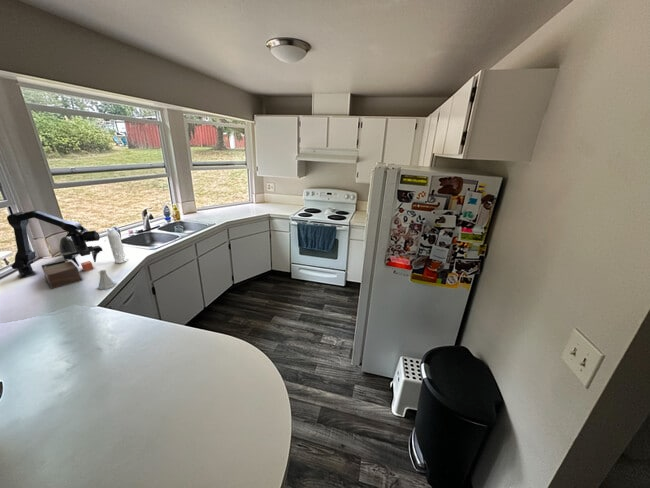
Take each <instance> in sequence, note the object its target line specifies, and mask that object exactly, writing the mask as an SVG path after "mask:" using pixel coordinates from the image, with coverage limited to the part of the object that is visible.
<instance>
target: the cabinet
mask: <svg viewBox="0 0 650 488" xmlns="http://www.w3.org/2000/svg"><path fill="white" fill-rule="evenodd" d="M41 269H42V272H43V274H44V277H45V279H46V281H47V283H48V284H49V286H50V287H51V289H55V288H56V289H57V288H60V287H62V286H66V285H70V284H74V283H77V282H81V281H82V280H83V279H82V277H81V274H80V271H79V268H78V266H77V265H76V264H75V263H73V261H72V260H69V261H68V262H66V263H61V264H57V265H53V266H49V267H44V268H42V267H41Z"/></svg>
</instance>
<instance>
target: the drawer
mask: <svg viewBox="0 0 650 488" xmlns="http://www.w3.org/2000/svg"><path fill="white" fill-rule="evenodd" d="M68 260H69V259H66V260H65V259H63V260H59V261H58V260H57V261H54V262H49V263H46V264H42V265H41V269H42V268H44V267H49V266H53V265H57V264H61V263H66V262H69V261H68Z"/></svg>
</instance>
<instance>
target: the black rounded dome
mask: <svg viewBox="0 0 650 488" xmlns="http://www.w3.org/2000/svg"><path fill="white" fill-rule="evenodd" d="M58 248H59V249H58V250H59V253H60V255H62V253H67V252H70V253H74V252H76V250H75V247H74V244H73V242H72V239H71V236H69V237H66V236H62V237H61V238H60V240H59V244H58ZM77 256H78V255H75V256H74V257H77Z"/></svg>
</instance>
